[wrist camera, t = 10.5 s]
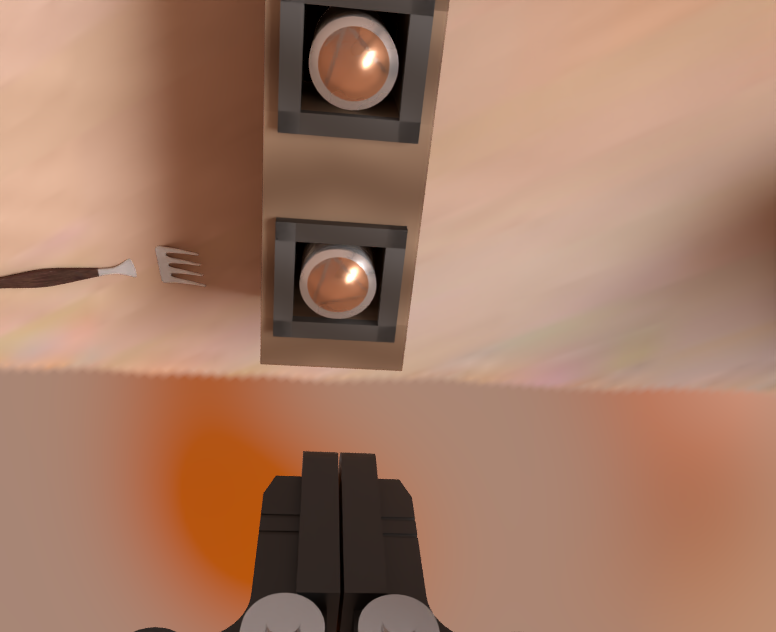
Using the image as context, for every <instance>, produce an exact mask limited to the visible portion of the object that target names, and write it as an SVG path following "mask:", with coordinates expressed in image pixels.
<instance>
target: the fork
mask: <svg viewBox="0 0 776 632" xmlns="http://www.w3.org/2000/svg"><path fill="white" fill-rule="evenodd" d="M155 251H156V256H157V260H158V265H159V270H160V274H161V279H162V281H163V282H164V283H183V284H191V285H199V286H204V287H205V286H206V285H205V284H201V283H198V282H194V281H190V280H185V279H180V278H176V277H173V276H172V275H171V274H172V273H180V274H190V275H197V276H204V275H203V274H200V273H196V272H192V271H187V270H183V269H178V268H174V267H171V266H169V263H179V264H189V265H197V266H201V264H198V263H194V262H190V261H186V260H181V259H177V258H172V257H168V256H167V255H166V253H181V254H191V255H197V256H198V255H199V254H198V253H194V252H190V251H185V250H181V249H176V248H170V247H164V246H157V247H156V248H155ZM108 274H123V275H128V276H132V277H137V274H136V270H135V267H134V264H133V262H132V261H131V259H127V260H125V261H124V262H123V263H121V264H120V265H118V266H115V267H111V268H50V269H40V270H34V271H28V272H23V273H19V274H14V275H10V276H5V277H0V288H37V287H48V286H55V285H60V284H65V283H70V282H74V281H79V280H83V279H88V278H92V277H97V276H102V275H108Z"/></svg>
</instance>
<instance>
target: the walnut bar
mask: <svg viewBox="0 0 776 632" xmlns="http://www.w3.org/2000/svg"><path fill="white" fill-rule="evenodd" d="M307 4H314V5H324V6H334V7H344V8H354V9H364V10H374V11H384V12H393V13H398V23H397V33H396V43H395V47H396V50H397V54H398V62H399V64H398V74H397V78H396V81H395V83H394V85H393V87H392V89H391V91H390V92H389V93H388V95H387V96H386V97H385V98H384V99H383V100H382V101H380V102H379V103H377V104H376V105H374V106H372V107H369V108H367V109H363V110H346V109H342V108H339V107H337V106H334V105H333V104H331V103H329V102H328V101H327V100H326V99H324V98H323V97H322V96H321V94H320V93H319V92H318V91H317V89H316V87H315V86H314V84H313V82H306V81H304V58H305V32H306V6H307ZM448 8H449V0H265V51H264V127H263V203H262V280H261V356H260V364H269V365H290V366H311V367H331V368H352V369H373V370H393V371H402V366H403V358H404V350H405V343H406V335H407V327H408V319H409V311H410V304H411V296H412V288H413V280H414V273H415V265H416V257H417V249H418V241H419V234H420V226H421V218H422V210H423V203H424V195H425V187H426V179H427V172H428V164H429V156H430V148H431V140H432V133H433V125H434V117H435V109H436V102H437V94H438V86H439V78H440V70H441V63H442V55H443V47H444V39H445V32H446V24H447V16H448ZM297 242H309V243H324V244H339V245H354V246H369V247H376V249H375V259H374V266H375V275H376V292H375V295H374V297H373V299H372V301H371V303H370V304H369V305H368V306H367V308H365V309H364V310H363V311H362V312H360V313H359V314H357V315H354V316H352V317H348V318H343V319H334V318H328V317H324V316H322V315H320V314H318V313H316V312H314V311H313V310H312V309H311V308H310V307H309V306H308V305H307V304H306V303H305V301H304V300H303V298H302V295H301V292H300V284H299V283H300V274H301V264H302V259H299V258H297Z"/></svg>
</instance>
